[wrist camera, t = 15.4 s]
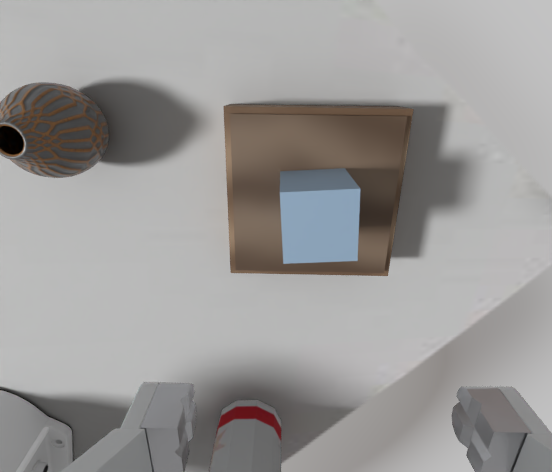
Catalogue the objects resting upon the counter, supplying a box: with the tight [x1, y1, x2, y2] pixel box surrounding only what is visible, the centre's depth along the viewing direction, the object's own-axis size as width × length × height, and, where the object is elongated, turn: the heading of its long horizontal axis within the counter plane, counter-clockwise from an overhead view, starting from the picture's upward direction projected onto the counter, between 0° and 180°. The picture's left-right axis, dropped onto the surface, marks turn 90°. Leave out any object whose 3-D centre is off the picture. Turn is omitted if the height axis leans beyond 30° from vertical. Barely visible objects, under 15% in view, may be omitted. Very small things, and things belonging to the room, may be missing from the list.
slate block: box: [280, 168, 360, 264], centre depth 26 cm, size 5×5×6 cm
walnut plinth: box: [224, 104, 413, 276], centre depth 30 cm, size 14×14×4 cm
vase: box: [0, 83, 109, 178], centre depth 26 cm, size 7×7×9 cm
